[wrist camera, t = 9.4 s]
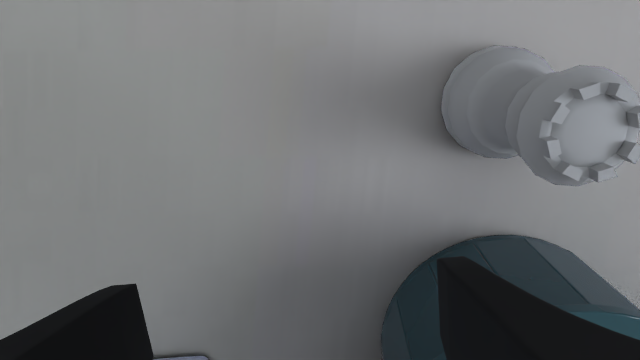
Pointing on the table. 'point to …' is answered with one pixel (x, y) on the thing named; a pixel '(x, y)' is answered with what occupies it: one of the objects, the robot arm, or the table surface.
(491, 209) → the table surface
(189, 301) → the table surface
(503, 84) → the rook chess piece
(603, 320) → the pot lid
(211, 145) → the table surface
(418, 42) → the table surface
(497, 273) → the pot
